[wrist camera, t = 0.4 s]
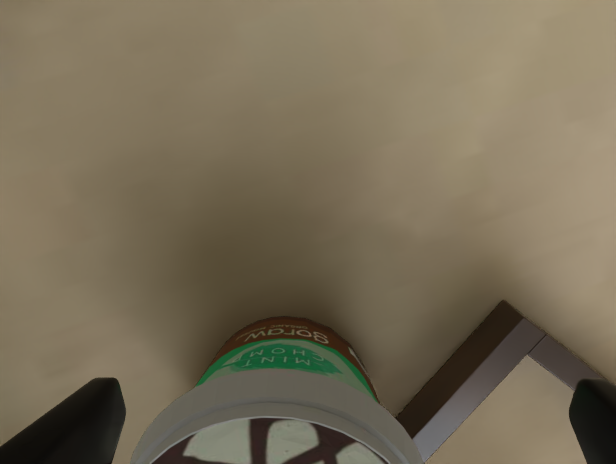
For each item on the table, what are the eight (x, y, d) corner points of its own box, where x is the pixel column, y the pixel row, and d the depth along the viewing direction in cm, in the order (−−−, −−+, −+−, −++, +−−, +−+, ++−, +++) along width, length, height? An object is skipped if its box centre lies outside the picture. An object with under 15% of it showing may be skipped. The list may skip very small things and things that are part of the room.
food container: (377, 277, 24) (421, 371, 14) (394, 379, 25) (445, 531, 15) (158, 316, 25) (55, 432, 15) (185, 414, 26) (106, 581, 16)
